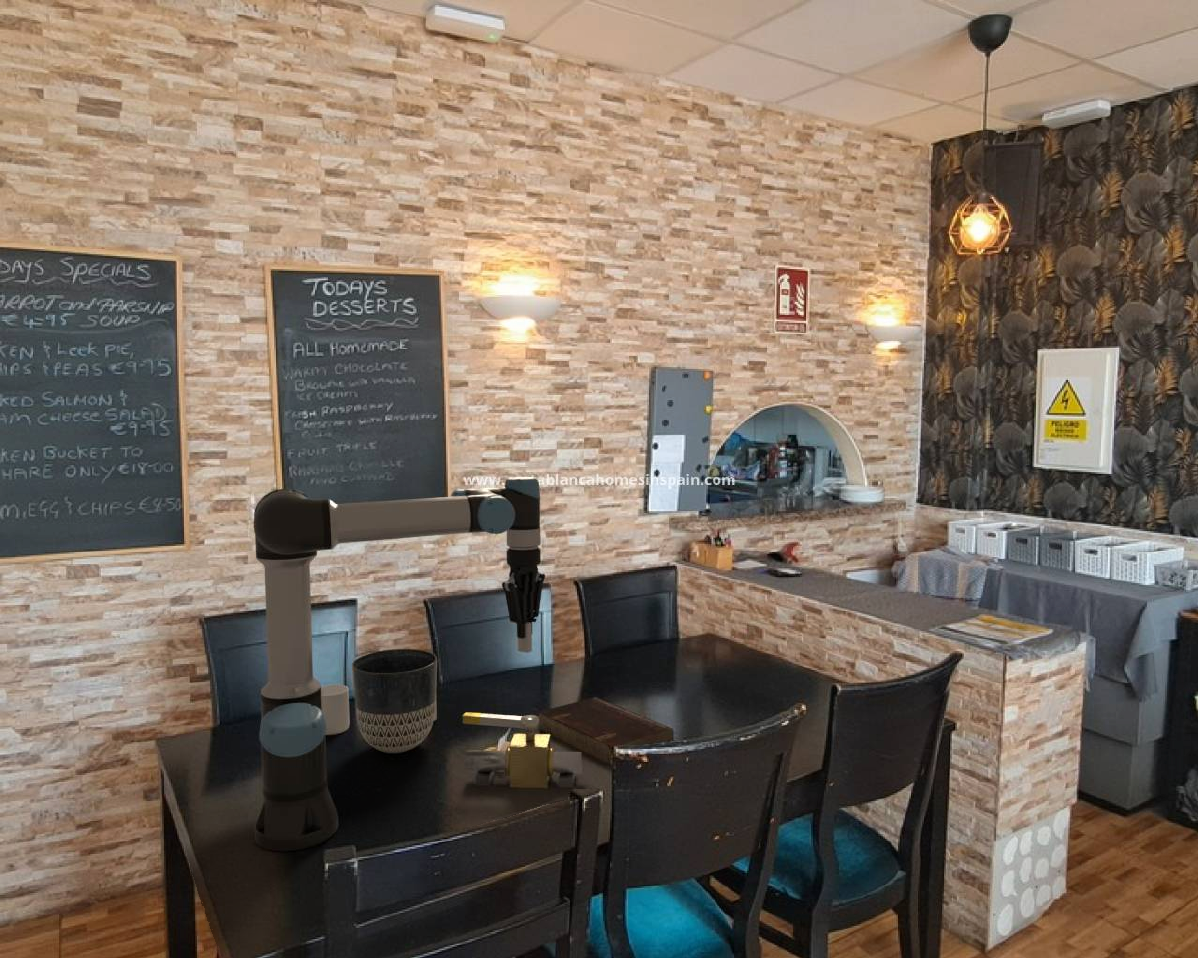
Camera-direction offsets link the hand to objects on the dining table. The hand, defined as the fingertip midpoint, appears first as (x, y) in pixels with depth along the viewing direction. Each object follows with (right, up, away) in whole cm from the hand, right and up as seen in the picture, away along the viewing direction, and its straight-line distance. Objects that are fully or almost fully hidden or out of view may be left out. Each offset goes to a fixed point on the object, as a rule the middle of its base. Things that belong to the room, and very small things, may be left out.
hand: (524, 650), depth 193 cm
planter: (-31, -26, +12) cm, 42 cm away
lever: (-5, -15, -5) cm, 17 cm away
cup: (-52, -25, +26) cm, 63 cm away
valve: (0, -27, -6) cm, 28 cm away
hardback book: (+18, -25, +18) cm, 36 cm away
